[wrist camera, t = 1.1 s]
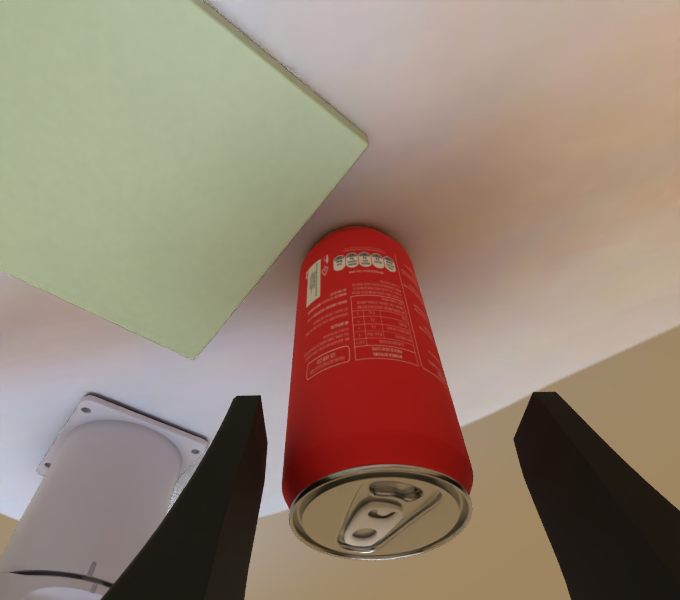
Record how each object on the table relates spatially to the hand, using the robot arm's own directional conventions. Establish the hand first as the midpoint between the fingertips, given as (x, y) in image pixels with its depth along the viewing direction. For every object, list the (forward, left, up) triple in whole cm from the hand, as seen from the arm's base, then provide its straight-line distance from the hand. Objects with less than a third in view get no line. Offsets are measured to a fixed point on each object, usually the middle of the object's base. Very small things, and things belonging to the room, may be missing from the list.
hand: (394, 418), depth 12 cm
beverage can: (-2, -1, -10) cm, 10 cm away
